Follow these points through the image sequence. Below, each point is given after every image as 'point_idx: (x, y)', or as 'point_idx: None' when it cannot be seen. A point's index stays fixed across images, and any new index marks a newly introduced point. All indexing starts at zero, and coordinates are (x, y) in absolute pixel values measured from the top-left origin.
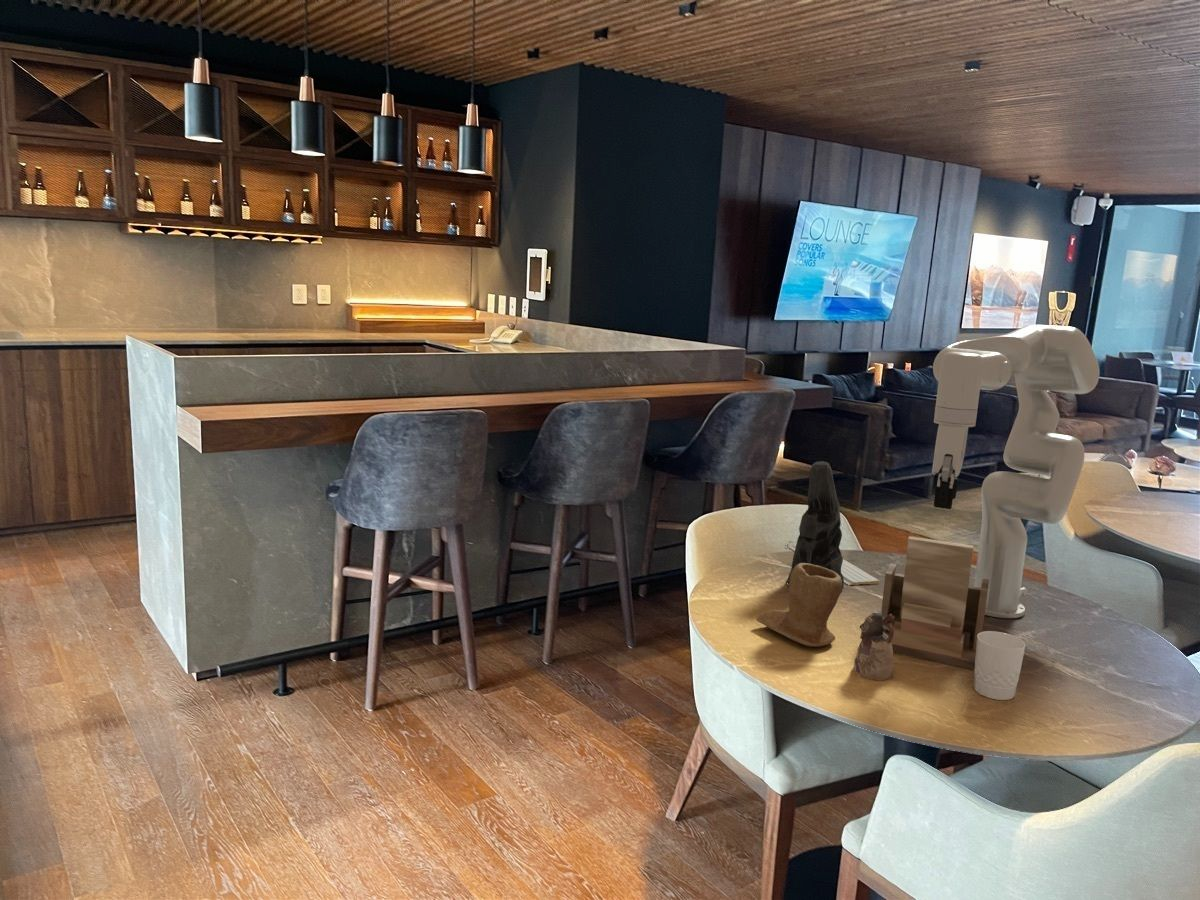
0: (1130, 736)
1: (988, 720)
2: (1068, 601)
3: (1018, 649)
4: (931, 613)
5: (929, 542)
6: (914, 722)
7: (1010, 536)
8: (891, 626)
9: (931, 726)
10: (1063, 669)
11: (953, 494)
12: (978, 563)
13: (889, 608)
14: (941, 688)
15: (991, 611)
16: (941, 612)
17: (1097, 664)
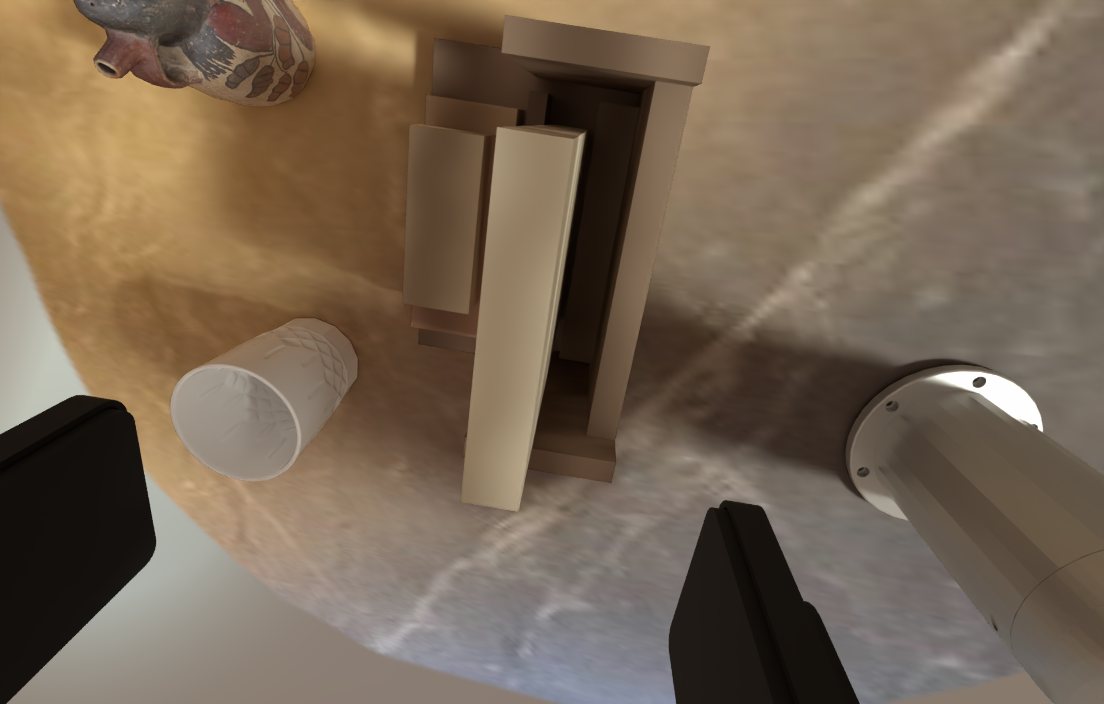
0: (256, 555)
1: (158, 327)
2: None
3: (197, 457)
4: (410, 237)
5: (483, 275)
6: (34, 160)
7: (1057, 678)
8: (139, 73)
9: (43, 200)
10: (525, 519)
11: (676, 671)
12: (1047, 472)
13: (585, 80)
14: (264, 238)
15: (863, 431)
16: (439, 274)
17: (586, 587)
